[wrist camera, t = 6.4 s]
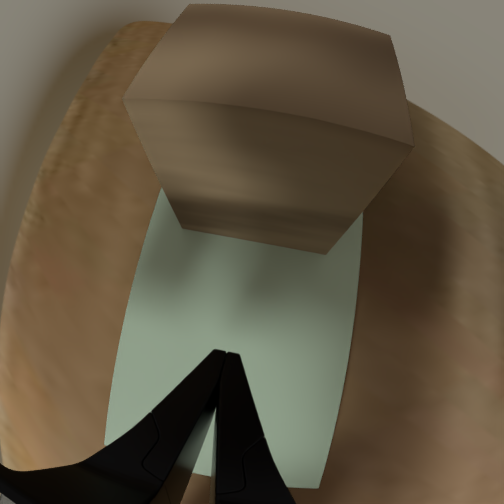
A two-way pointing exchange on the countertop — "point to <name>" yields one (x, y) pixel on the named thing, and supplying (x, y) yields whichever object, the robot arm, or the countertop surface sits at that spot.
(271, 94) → the walnut push block
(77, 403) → the countertop surface
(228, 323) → the sage board
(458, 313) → the countertop surface
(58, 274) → the countertop surface
